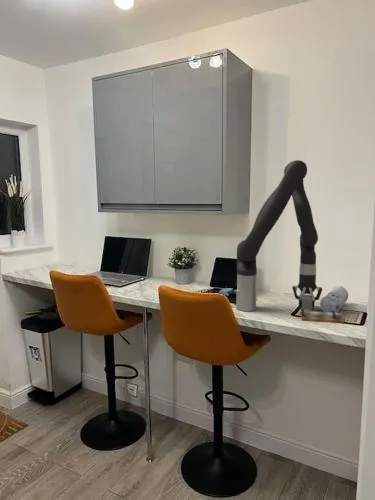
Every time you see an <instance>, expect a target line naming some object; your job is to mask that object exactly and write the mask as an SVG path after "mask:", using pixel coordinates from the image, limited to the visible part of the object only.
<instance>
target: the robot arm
mask: <svg viewBox="0 0 375 500" xmlns="http://www.w3.org/2000/svg"><path fill="white" fill-rule="evenodd" d="M307 174H308V167H307V164H306V162H305V161H302V160H300V159H298V160H297V159H295V160H293V161H290V162H289V163H288V164H286V166H285V167H284V170H283V176H282V178H281V181H280V182H279V183H278V186H277V187H276V188H275V189H274V190H273V191H272V193H271V194H270V195H269V196H268V198H267V199H266V201H265V202H264V203H263V205H262V207H261V208H260V210H259V212H258V214H257V216H256V218H255V221H254V224H253V225H252V226H253V227H252V229H251V231H250V232H249V234H248V235H247V236H246V238H245V239H244V240H241V241H240V242H239V243H238V244H237V248H236V285H237V291H236V295H235V296H236V300H235V301H236V302H235V306H236V308H235V310H237V311H242V312H253V311H256V310H257V278H258V277H257V275H258V274H257V273H258V271H257V256H258V255H259V252H260V249H261V247H262V245H263V243H264V241H265V239H266V237H267V236H268V235H269V233H270V232H271V231H272V229H273V228H274V226H275V225H276V224H277V222H278V221H279V219H280V218H281V217H280V216H282V214H283V212H284V210H285V209H286V207H287V205H288V203H289V201H290V200H291V197H292V201H293V206H294V207H293V208H294V211H295V217H296V221H297V225H298V227H299V228H300V235H299V247H300V257H299V259H300V261H299V262H300V263H299V270H298V271H299V273H298V274H299V276H298V277H299V278H298V284H297V285H293V286H292V290H293V295H294V298H295V299H296V300H298V307H300V309H302V297H303V295H304V294H308V295H311V297H312V310H313V309H314V308H315V304H316V301H319V300H320V297H321V295H322V292H323V288H322V287H321V286H317V285H316V284H317V280H316V279H317V254H316V250H315V248H316V247H315V246H316V245H317V243H318V241H319V235H318V232H317V229H316V226H315V222H314V217H313V212H312V207H311V204H310V201H309V199H308V197H307V193H306V190H305V186H304V185H305V183H304V179H305V178H306V176H307ZM298 289H299V291H300V292H299V295H298V292H297V291H298ZM315 291H317V293H316V294H315V295H316V296H315V295H314V292H315Z"/></svg>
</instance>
